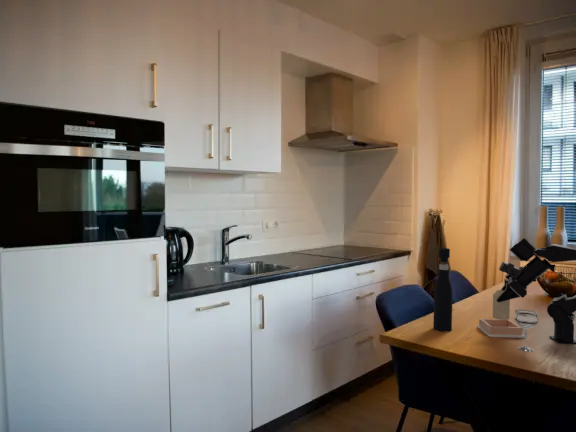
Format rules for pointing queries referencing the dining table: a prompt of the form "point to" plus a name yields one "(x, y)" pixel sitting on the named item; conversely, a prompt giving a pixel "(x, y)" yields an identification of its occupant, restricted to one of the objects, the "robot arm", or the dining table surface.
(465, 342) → the dining table surface
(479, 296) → the dining table surface
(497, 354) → the dining table surface
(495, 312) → the candle
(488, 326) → the pink square tray
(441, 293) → the wine bottle
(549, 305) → the robot arm
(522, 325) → the wineglass
